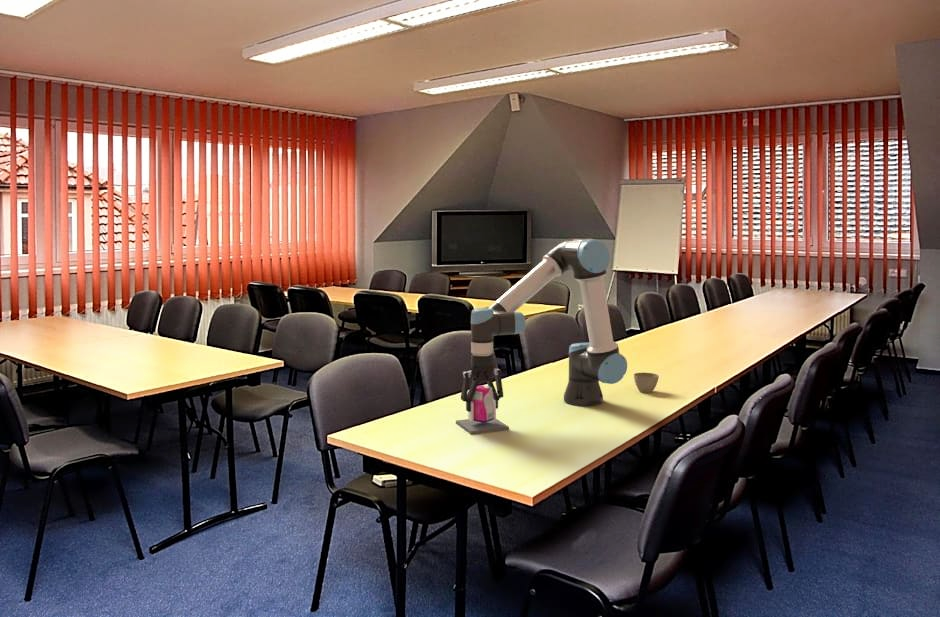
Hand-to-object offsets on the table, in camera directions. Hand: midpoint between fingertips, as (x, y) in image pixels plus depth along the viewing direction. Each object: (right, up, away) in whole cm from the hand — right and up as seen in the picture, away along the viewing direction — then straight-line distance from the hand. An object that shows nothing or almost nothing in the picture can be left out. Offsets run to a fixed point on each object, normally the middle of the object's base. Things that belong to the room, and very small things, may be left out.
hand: (482, 419), depth 253 cm
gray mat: (0, -3, 0) cm, 3 cm away
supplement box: (0, -1, 0) cm, 0 cm away
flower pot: (+68, +3, +50) cm, 84 cm away
